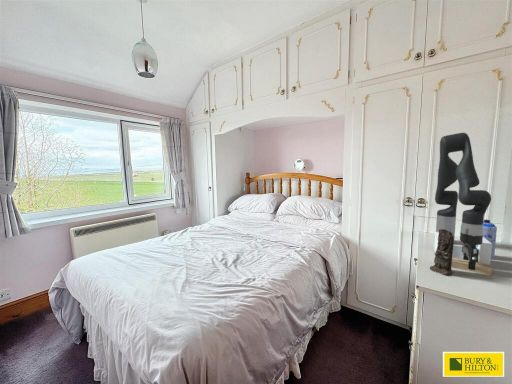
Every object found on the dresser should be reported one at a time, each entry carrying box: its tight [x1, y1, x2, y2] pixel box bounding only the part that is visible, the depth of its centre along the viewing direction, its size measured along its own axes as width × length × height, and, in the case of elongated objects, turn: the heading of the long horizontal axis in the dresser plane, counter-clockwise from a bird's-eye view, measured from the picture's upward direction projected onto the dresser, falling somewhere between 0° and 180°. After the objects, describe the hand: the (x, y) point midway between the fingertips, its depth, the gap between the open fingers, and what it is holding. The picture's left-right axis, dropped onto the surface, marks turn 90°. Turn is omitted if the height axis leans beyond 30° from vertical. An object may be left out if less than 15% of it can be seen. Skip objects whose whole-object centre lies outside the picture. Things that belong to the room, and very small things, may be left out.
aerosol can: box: [476, 219, 498, 260], centre depth 115 cm, size 8×8×20 cm
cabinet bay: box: [433, 231, 492, 265], centre depth 112 cm, size 12×19×12 cm, turn 58°
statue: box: [429, 229, 455, 276], centre depth 100 cm, size 7×7×20 cm
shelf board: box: [451, 258, 493, 276], centre depth 103 cm, size 6×14×4 cm, turn 50°
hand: (468, 266), depth 103 cm, fingers open, 8 cm apart
